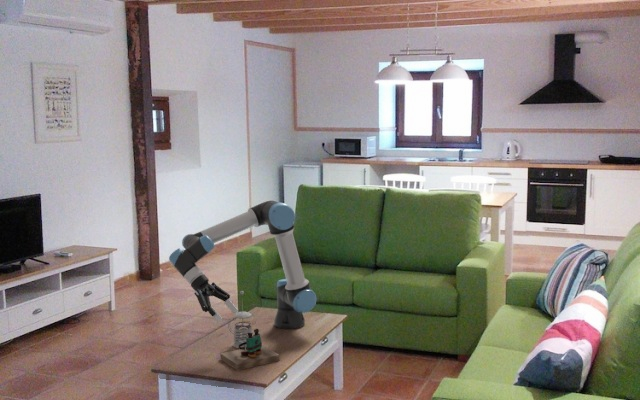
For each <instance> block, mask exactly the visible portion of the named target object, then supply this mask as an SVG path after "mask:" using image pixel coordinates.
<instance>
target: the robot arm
mask: <svg viewBox="0 0 640 400" xmlns="http://www.w3.org/2000/svg"><path fill="white" fill-rule="evenodd" d="M295 220H296V214H295V211H294V209H293V208H292V207H291V206H290V205H288V204H287V203H284V202H279V201H275V200H266V201H263V202H261V203H259V204H257V205H254V206H253V207H250V208H248V209H247V211H246V212H244V213H242V214H241V213H240V214H239V215H235V216H234V217H232V218H230V219H227V220H224V221H222V222H220V223H218V224H215V225H213V226H210V227H208V228H206V229H205V228H204V229H203V230H201V231H199V232H195V233H193V234H192V233H189V234H186V235H185V236H184V237H183V238H182V240H181V242H182V244H181V245H182V247H183V248H184V249H183V248H181V247H180V248H177V249H175V250H174V251H173V252H172V253H170V255H169V256H168V260H169V262H170V263H171V264H172V266H173V267H174V268H175V269H176V271H178V273H179V274H180V275H181V276H182V278H184V279H185V281H186V282H187V283H188V284H189V285H190V287H191V289H193V290H194V292H193V294H194V295H195V297H196V298H197V300H198V303H199V305H200V308H201V310H202V311H203V312H204V313H207V312H208V313H209V314H210V316H212V318H213V319H214V320H215V321H216V322H217V323H220V322H221V321H222V320H223V317H222V316H221V314H220V313H219V312H218V311H217V309H215V308H214V306H212V304H211V299H210V297H215V298H217V299H220V300H221V301H223V302H224V305H226V307H227V308H228V309H229V310H230V311H231V313H232V314H233V315H235V314H236V313H237V312H238V310H239V309H238V308H237V307H236V306H235V304H234V303H233V302H232V301H231V299H230V298H231V294H229V293H228V292H227V291H225V290H223V288H221V287H219V286H218V285H217V284H216V283H215V282H211V284H210V283H209V281H210V280H209V278H208V277H207V276H206V274H204V273H203V271H202V270H201V269H200V268H199V266H198V265H197V264H196V263H198V262H199V261H201V260H202V259H203V258H204V257H206V255H208V254H209V253H211V251H213V250H214V249H215V248H216V246H215V244H216V243H218V242H220V241H222V240H224V239H227V238H230V237H231V236H234V235H236V234H238V233H241V232H243V231H246V230H248V229H251V228H253V227H255V228H258V227H261V226H264V225H265V226H266V225H267V226H268V231H269V234H270V235H271V236H273V237H274V239H275V242H276V243H275V244H276V246H277V250H278V254H279V258H280V261H281V266H282V268H283V272H284V276H285V278H283V279H279V280H277V282H276V301H277V303H276V304H277V306H276V307H277V311H276V314H275V316H274V317H275V318H274V319H273V320H274V321H273V323H274V324H273V325H274V327H275V328H278V329H285V330H293V329H298V328H302V327H304V326H305V324H306V322H305V321H306V320H305V317H304V314H307V313H309V312H311V311H312V310H313V308H315V306H316V303H317V295H316V293H315V292H314V290H313V289H312V288H311V284H310V281H309V279H307V278H305V274H304V270H303V266H302V262H301V259H300V255H299V252H298V248H297V244H296V240H295V237H294V233H293V232H294V230H295V224H294V222H295Z"/></svg>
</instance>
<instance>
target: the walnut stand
mask: <svg viewBox="0 0 640 400" xmlns="http://www.w3.org/2000/svg"><path fill="white" fill-rule="evenodd" d="M245 350H246V348H245ZM261 350H262V354H257V353H255V352H254V353H255V354H256V357H250V356H249V355H241V352H243V351H244V350H241V349H239V348H238V349H234V350H230V351H226V352H225V351H224V352H221V353H220V354H219V355H220V357H219V358H220V360H221V361H223V362H224V363H226V364H227V365H228V366H230V367H231V368H233V369H234V370H236V371H241V370H244V369H249V368H253V367H258V366H261V365H267V364H270V363H274V362H275V363H276V362H279V361H280V359H281V358H280V357H281V356H280V354H279V353H277V352H275V351H274V350H272V349H270V348H268V347H267V346H265V345H263V344H262V347H261ZM246 351H247V350H246Z"/></svg>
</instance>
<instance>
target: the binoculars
mask: <svg viewBox="0 0 640 400" xmlns="http://www.w3.org/2000/svg"><path fill="white" fill-rule="evenodd" d="M259 332H260V329H259V328H255V329H253V332H252V333H248V334H247V335H248V337H247V338H246V342H244V343H241V344H240V345H239V348H238V350H239V349H241V350H244V351H243V352H241V355H249V356H250V357H256V354H255V353H257V354H262V350H261V347H262V345H263V344H262V343H263V342H262V339H261V338H262V337H261V334H260V333H259ZM253 333H254V334H253ZM245 344H246V345H247V347H246V346H245V347H246V350H247V351H246V350H245V347H240V346H242V345H245ZM254 352H255V353H254Z"/></svg>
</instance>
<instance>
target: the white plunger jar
mask: <svg viewBox="0 0 640 400" xmlns="http://www.w3.org/2000/svg"><path fill="white" fill-rule="evenodd" d="M239 294H240V295H244V294H245V292H244V290H240V292H239ZM243 305H244V304H243V300H241V311H237V312H235V313H234V314H233V317H232V318H231V319H230V320H228V324H227V326H228V331H229V332H230V333H231V334H233V335H234V336H233V338H234V339H233V340H234V341H233V342H234V343H232V347H234V348H236V349H237V348H238V349H239V345H240V344H241V343H244V342H246V338H248V333H253V332H252V325H251V322H250V321H244V319H249V318H251V317H252V314H251V313H250V312H247V311H244V309H243V308H244V307H243ZM236 319H242V320H243V321H238V322H236V323H234V331H233V330H232V328H231V322H232V320H234V321H236ZM245 346H246V347H247V345H246V344H245V345H242V346H240V347H245ZM246 347H245V348H246Z"/></svg>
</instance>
